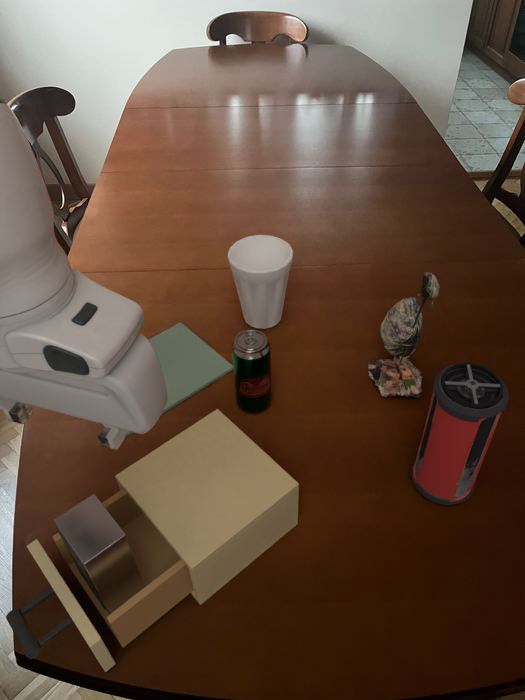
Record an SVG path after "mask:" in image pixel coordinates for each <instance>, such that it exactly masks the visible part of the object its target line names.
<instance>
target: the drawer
mask: <svg viewBox="0 0 525 700" xmlns="http://www.w3.org/2000/svg"><path fill="white" fill-rule="evenodd" d="M101 503H102V504H103V506H104V507H105V508H106V510H107V511H108V512H109V514H110V515H111V516H112V517H113V519H114V520H115V521H116V523H117V524H118V525H119V527H120V528H121V529H122V530H123V532H124V533H125V534H126V537H127V539H128V542H129V545H130V547H131V550H132V553H133V555H134V558H135V561H136V563H137V566H138V569H139V571H140V574H141V577H142V579H143V582H144V585H145V588H143V589H142V590H141V591H139V592H138V593H137V594H136V595H134V596H133V597H132V598H130V599H129V600H128V601H127V602H125V603H124V604H123V605H121V606H120V607H119V608H118V609H116V610H115V611H114V612H112V613H111V614H110V615H109V614H108V613H107V611H106V610H104V608H103V607H102V605H101V604H100V602H99V601H98V599H97V598H96V597H95V595H94V594H93V592H92V591H91V589H90V588H89V586H88V585H87V583H86V582H85V580H84V579H83V577H82V576H81V574H80V572H79V570H78V568H77V567H76V565H75V563H74V561H73V559H72V557H71V555H70V553H69V551H68V550H67V548H66V546H65V544H64V542H63V540H62V538H61V536H60V535H59V531H58V532H56V533H55V534H53V535H52V536H51V537H52V540H53V541H54V544H55V545H56V547H57V548H58V550H59V552H60V555H61V556H62V558H63V559H64V561H65V563H66V565H67V566H68V568H69V569H70V571H71V573H72V574H73V575H74V577H75V579H76V580H77V581H78V583H79V584H80V586H81V588H82V589H83V590H84V592H85V593H86V595H87V596H88V598H89V599H90V601H91V602H92V604H93V606H94V607H95V609H96V610H97V612H98V613H99V615H100V616H101V617H102V619H103V620H104V622H105V624H106V626H107V627H108V628H109V629H110V631H111V633H112V634H113V635H114V637H115V639H116V640H117V641H118V643H119V644H120V646H121V648H125V647H126V646H127V645H129V644H130V643H131V642H132V641H133V640H135V639H136V638H137V637H139V636H140V635H141V634H142V633H144V632H145V631H146V630H147V629H148V628H150V627H151V626H152V625H153V624H154V623H155V622H157V621H158V620H159V619H161V617H163V616H164V615H165V614H167V613H168V612H169V611H170V610H172V609H173V608H174V607H175V606H176V605H178V604H179V603H180V602H181V601H183V600H184V599H185V598H186V597H187V596H189V595H190V594H191V592H192V591H193V590H194V588H193V584H192V580H191V576H190V572H189V568H188V566H187V565H186V564H185V563H184V561H183V560H182V559H181V558H180V557H179V555H178V554H177V553H176V552H175V550H174V549H173V548H172V547H171V546H170V544H169V543H168V542H167V541H166V540H165V538H164V537H163V536H162V535H161V533H160V532H159V531H158V530H157V529H156V527H155V526H154V525H153V524H152V522H151V521H150V520H149V519H148V518H147V516H146V515H145V514H144V513H143V512H142V510H141V509H140V508H139V507H138V505H137V504H136V503H135V502H134V501H133V499H132V498H131V497H130V496H129V494H128V493H127V492H126V491H125V490H124V488H123V489H122V490H120V489H119V491H118V492H116V493H114V494H113V495H112V496H110V497H108V498H107V499H106V500H104V501H102V502H101ZM26 548H27V549H28V551H29V553H30V554H31V556H32V557H33V560H34V561H35V562H36V564H37V566H38V567H39V569H40V570H41V572H42V573H43V575H44V577H45V578H46V580H47V581H48V583H49V584H50V587H48V588H47V589H46V590H43V592H41V593H40V594H39V595H38V596H36V597H34V598H33V599H32V600H30V601H29V602H28V603H26V604H25V605H23V606H22V607H21V608H13V609H11V610H10V611H8V613H7V614H6V617H5V620H6V621H7V623H8V625H9V626H10V629H11V631H12V632H13V634H14V635H15V638H16V639H17V641H18V643H19V645H20V647H21V649H22V650H23V652H24V654H25V656H26V658H27V659H28V660H31V659H34V658H36V657H37V656H38V655H39V654H41V652H42V648H43V647H44V646H46V645H47V644H48V643H50V642H51V641H52V640H54V639H55V638H56V637H57V636H59V635H60V634H61V633H63V632H64V631H65V630H67V629H68V628H70V627H71V626H72V625H73V624H74V625H75V626H76V628H77V629H78V631H79V633H80V634H81V636H82V637H83V639H84V641H85V642H86V644H87V645H88V647H89V649H90V650H91V652H92V653H93V655H94V657H95V658H96V660H97V662H98V663H99V665H100V666H101V668H102V669H103V672H104V673H107V672H108V671H109V670H110V669H112V668H113V667H114V666H115V665H116V661H115V660H114V658H113V656H112V655H111V653H110V651H109V649H108V647H107V646H106V643H105V642H104V641H103V639H102V637H101V635H100V634H99V632H98V631H97V629H96V628H95V626H94V624H93V623H92V622H91V620H90V618H89V617H88V615H87V614H86V612H85V611H84V609H83V608H82V605H81V604H80V603H79V602H78V599H77V598H76V597H75V595H74V593H73V592H72V590H71V589H70V587H69V586H68V585H67V583H66V581H65V580H64V578H63V576H62V575H61V573H60V572H59V571H58V569H57V568H56V566H55V564H54V563H53V561H52V560H51V558H50V556H49V555H48V553H47V552H46V550H45V549H44V547H43V546H42V544H41V542H40V541H39V539H37V538H35V539H34V540H32V542H30V543H28V544H27V545H26ZM54 594H56V596H57V598H58V599H59V601H60V602H61V604H62V606H63V607H64V609H65V610H66V612H67V613H68V615H69V616H68V617H67V618H65V619H64V620H63V621H61V622H60V623H59V624H58V625H56V626H55V627H54V628H52V629H51V630H50V631H48V632H47V633H46V634H44V635H43V636H41V637H40V638H38V639H37V637H36V636H35V634H34V632H33V630H32V628H31V627H30V625H29V623H28V622H27V620H26V618H25V616H26V615H27V614H29V613H30V612H31V611H33V609H35V608H37V607H38V606H39V605H41V604H43V603H44V602H45V601H46V600H47V599H49V598H50V597H53V595H54Z"/></svg>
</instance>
